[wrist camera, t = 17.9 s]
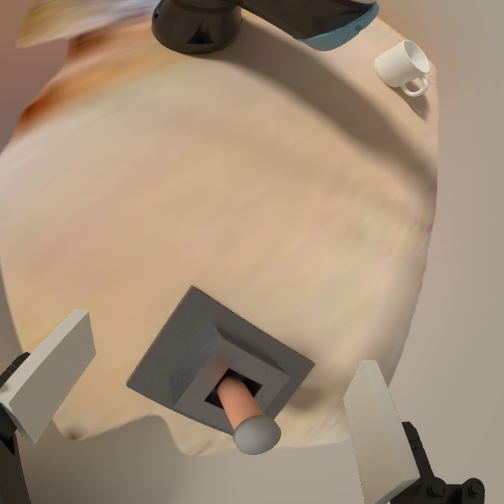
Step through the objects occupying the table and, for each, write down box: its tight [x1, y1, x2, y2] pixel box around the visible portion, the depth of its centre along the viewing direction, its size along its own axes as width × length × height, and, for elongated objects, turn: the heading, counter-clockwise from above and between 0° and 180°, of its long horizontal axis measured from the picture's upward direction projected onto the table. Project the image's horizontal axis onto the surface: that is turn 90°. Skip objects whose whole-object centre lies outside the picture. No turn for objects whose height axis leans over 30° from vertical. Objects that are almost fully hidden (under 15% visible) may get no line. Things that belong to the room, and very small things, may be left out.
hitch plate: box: [126, 285, 314, 435], centre depth 38 cm, size 24×18×6 cm
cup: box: [374, 40, 430, 97], centre depth 45 cm, size 8×12×10 cm
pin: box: [215, 368, 281, 455], centre depth 33 cm, size 5×5×15 cm
